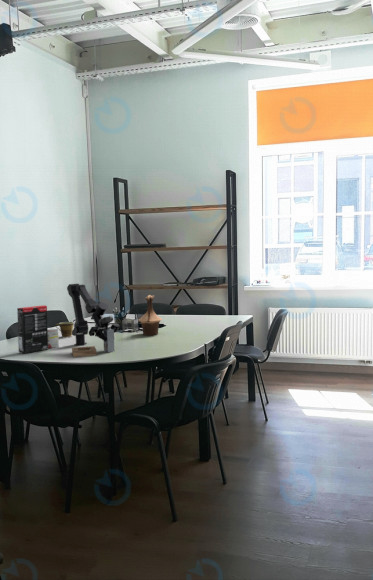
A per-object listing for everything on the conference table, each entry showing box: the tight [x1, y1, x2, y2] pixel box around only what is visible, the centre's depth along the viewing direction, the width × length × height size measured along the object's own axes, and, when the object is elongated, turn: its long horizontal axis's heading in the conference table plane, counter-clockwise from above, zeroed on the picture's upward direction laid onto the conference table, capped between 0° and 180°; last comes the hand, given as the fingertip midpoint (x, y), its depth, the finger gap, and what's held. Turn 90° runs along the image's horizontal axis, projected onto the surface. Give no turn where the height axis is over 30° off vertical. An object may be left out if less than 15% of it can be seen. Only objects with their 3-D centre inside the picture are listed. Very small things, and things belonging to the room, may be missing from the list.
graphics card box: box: [16, 304, 49, 354], centre depth 301 cm, size 17×7×27 cm, turn 141°
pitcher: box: [137, 294, 163, 336], centre depth 352 cm, size 18×17×28 cm
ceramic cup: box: [55, 321, 75, 338], centre depth 352 cm, size 13×10×10 cm
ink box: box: [47, 327, 60, 349], centre depth 313 cm, size 9×5×12 cm, turn 107°
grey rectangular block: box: [102, 329, 115, 353], centre depth 294 cm, size 4×4×13 cm
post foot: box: [71, 345, 98, 358], centre depth 289 cm, size 13×13×3 cm
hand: (110, 340), depth 293 cm, fingers open, 5 cm apart
